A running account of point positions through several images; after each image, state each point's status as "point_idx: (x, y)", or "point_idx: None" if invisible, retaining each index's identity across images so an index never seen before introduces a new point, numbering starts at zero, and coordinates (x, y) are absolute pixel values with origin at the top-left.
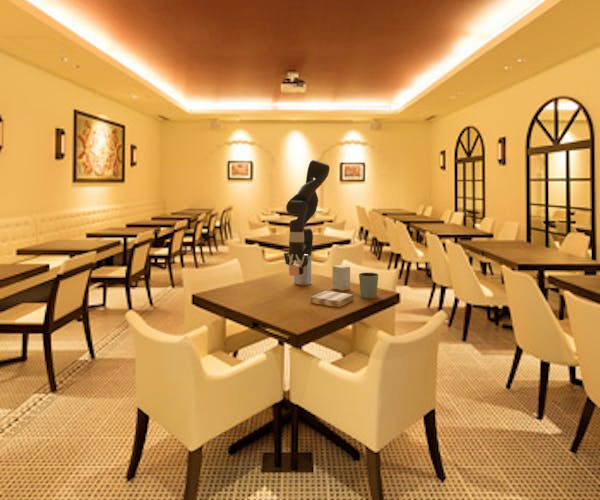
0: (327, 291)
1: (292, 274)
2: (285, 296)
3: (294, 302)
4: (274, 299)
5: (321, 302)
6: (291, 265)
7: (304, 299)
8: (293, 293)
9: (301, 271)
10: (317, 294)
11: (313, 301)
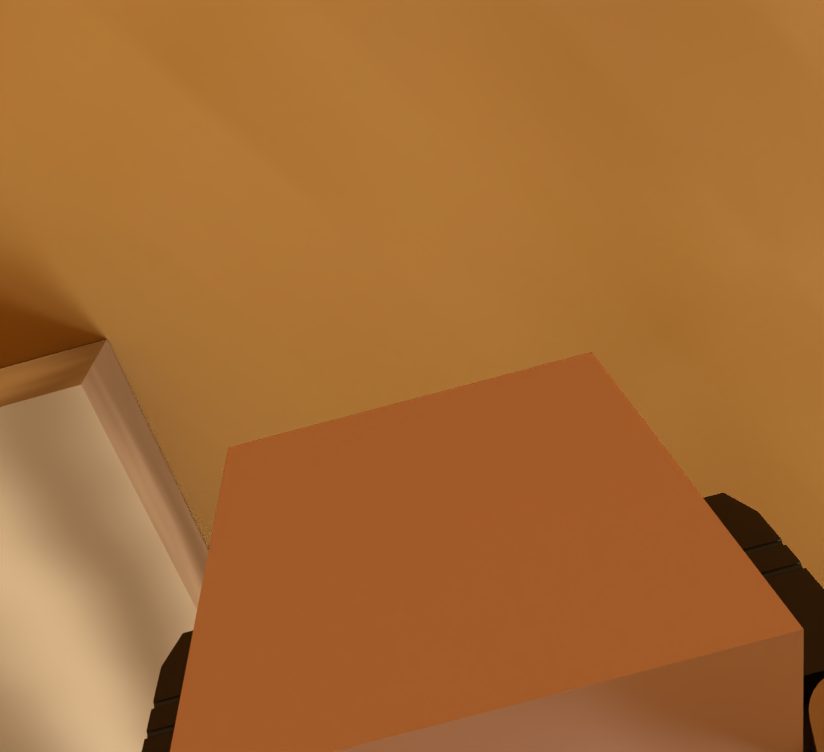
0: None
1: (464, 409)
2: (683, 301)
3: (293, 148)
4: (704, 16)
5: None
6: (712, 715)
7: (335, 397)
8: (700, 492)
9: (177, 702)
10: (155, 561)
11: (42, 366)
